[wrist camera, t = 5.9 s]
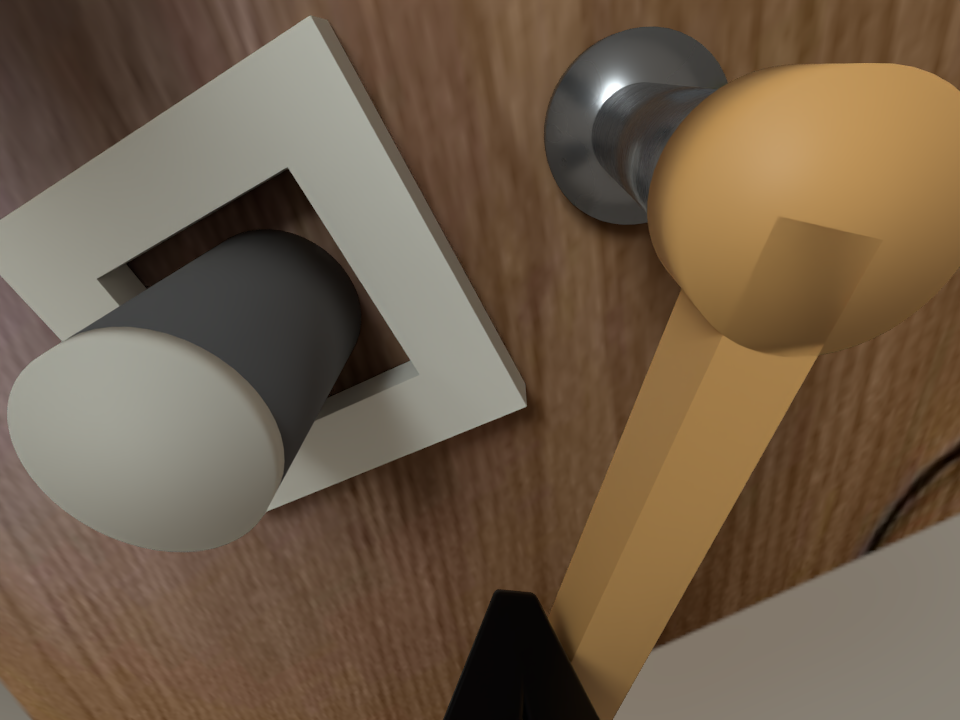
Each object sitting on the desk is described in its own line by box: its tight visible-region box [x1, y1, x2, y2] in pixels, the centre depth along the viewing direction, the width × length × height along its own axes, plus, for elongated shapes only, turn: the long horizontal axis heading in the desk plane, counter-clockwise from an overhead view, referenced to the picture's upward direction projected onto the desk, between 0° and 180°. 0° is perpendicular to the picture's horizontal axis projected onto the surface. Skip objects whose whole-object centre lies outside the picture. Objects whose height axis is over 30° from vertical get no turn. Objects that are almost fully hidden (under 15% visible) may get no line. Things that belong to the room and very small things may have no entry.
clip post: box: [544, 27, 728, 225], centre depth 10 cm, size 4×4×7 cm
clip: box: [548, 63, 960, 720], centre depth 8 cm, size 3×14×1 cm, turn 168°
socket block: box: [0, 15, 527, 512], centre depth 15 cm, size 10×10×1 cm
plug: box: [7, 229, 361, 552], centre depth 12 cm, size 4×4×6 cm
